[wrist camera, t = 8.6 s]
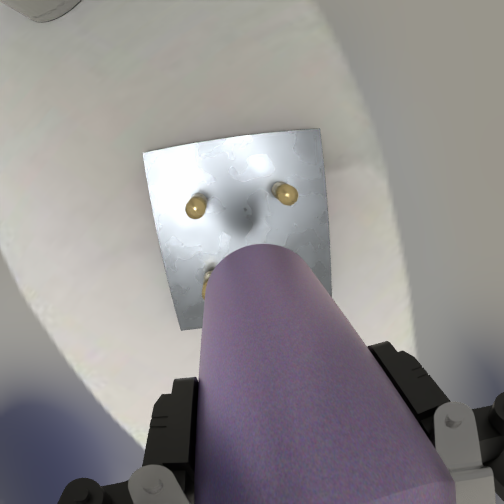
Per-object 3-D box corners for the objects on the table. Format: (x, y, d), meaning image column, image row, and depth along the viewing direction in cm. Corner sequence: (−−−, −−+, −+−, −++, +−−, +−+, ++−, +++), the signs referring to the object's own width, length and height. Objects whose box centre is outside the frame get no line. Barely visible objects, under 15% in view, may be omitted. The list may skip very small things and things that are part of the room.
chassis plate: (146, 153, 27) (131, 153, 22) (315, 129, 28) (332, 125, 23) (182, 323, 33) (177, 350, 28) (327, 300, 33) (343, 323, 29)
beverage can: (197, 248, 16) (146, 588, 2) (309, 232, 16) (529, 475, 2) (215, 343, 18) (226, 608, 4) (313, 328, 18) (425, 561, 4)
